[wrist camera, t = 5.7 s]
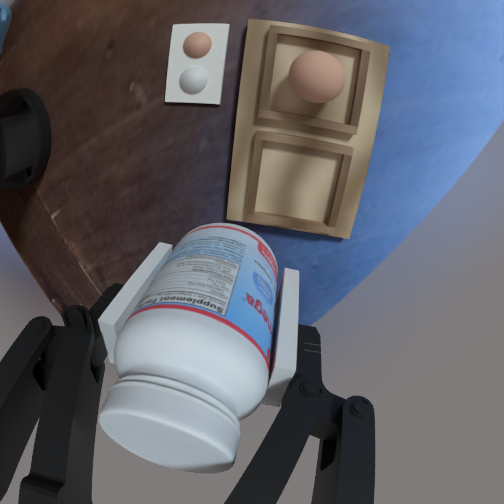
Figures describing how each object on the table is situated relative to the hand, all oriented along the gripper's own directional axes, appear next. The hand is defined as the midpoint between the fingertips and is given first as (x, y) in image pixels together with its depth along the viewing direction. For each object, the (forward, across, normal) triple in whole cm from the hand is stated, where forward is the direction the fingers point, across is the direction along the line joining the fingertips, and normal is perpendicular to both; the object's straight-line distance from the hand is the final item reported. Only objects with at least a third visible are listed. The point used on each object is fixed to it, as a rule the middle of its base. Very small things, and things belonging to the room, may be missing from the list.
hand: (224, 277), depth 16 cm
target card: (+18, -9, +12) cm, 23 cm away
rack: (+18, +4, +7) cm, 20 cm away
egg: (+17, +3, +12) cm, 21 cm away
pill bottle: (+1, 0, 0) cm, 1 cm away
